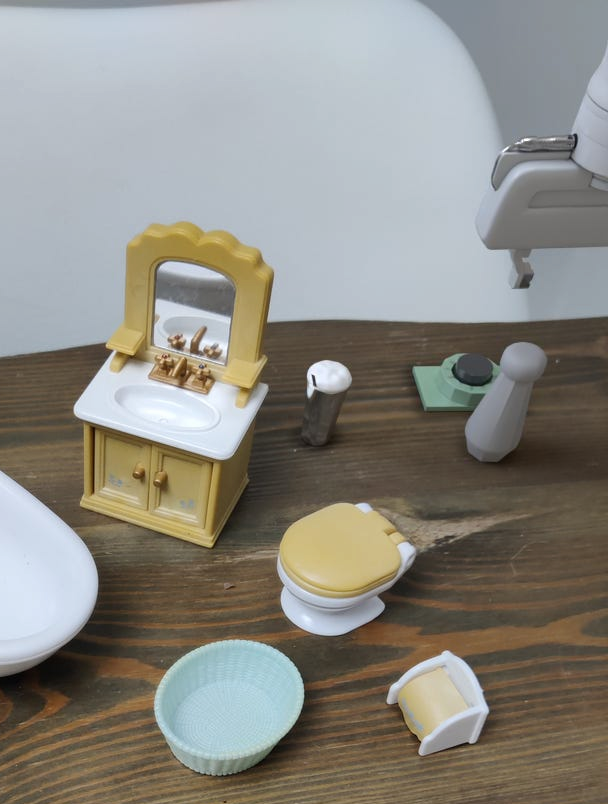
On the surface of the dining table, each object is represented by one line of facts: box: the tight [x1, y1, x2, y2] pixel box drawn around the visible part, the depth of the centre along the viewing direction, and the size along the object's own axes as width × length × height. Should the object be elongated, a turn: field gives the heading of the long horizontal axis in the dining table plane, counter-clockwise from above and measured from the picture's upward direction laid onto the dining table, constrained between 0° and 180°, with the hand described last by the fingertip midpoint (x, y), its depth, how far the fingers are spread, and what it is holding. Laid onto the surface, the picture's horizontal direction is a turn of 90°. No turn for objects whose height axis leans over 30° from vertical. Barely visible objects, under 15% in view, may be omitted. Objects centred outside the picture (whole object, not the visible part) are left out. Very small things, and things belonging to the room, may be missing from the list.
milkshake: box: [300, 359, 353, 447], centre depth 103 cm, size 4×5×10 cm
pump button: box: [454, 352, 493, 386], centre depth 110 cm, size 4×4×2 cm
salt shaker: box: [464, 341, 548, 463], centre depth 101 cm, size 6×6×13 cm
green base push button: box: [411, 352, 501, 412], centre depth 111 cm, size 11×7×2 cm, turn 92°
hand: (567, 283), depth 91 cm, fingers open, 8 cm apart
